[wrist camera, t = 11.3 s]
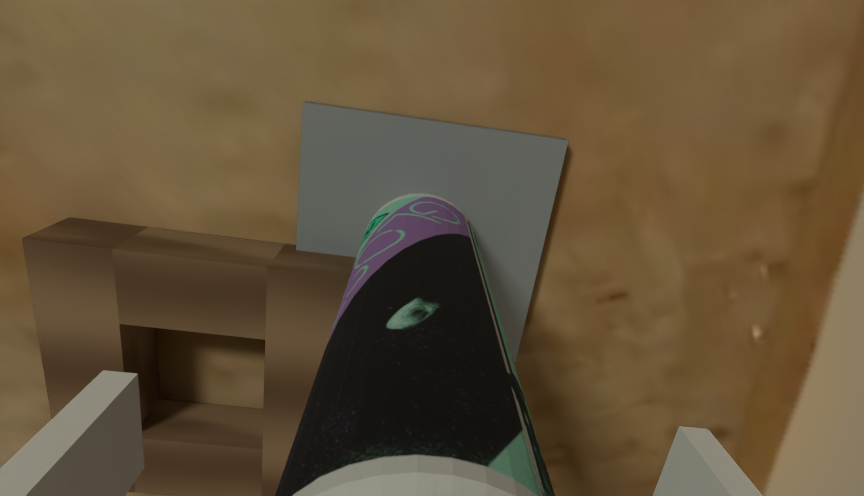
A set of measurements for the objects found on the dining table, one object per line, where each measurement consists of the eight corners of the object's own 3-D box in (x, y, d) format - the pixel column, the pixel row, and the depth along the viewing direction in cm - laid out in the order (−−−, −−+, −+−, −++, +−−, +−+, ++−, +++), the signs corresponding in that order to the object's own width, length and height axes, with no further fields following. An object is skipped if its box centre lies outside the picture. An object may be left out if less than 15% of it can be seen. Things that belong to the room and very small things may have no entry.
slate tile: (513, 356, 27) (515, 362, 26) (294, 332, 26) (291, 338, 25) (564, 138, 23) (568, 140, 22) (305, 101, 22) (302, 102, 21)
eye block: (338, 466, 29) (329, 508, 27) (98, 444, 28) (63, 486, 26) (359, 252, 25) (351, 277, 22) (69, 217, 24) (21, 238, 21)
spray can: (423, 168, 22) (426, 688, 4) (498, 250, 24) (768, 913, 5) (340, 243, 24) (29, 917, 5) (416, 316, 25) (398, 1048, 6)
